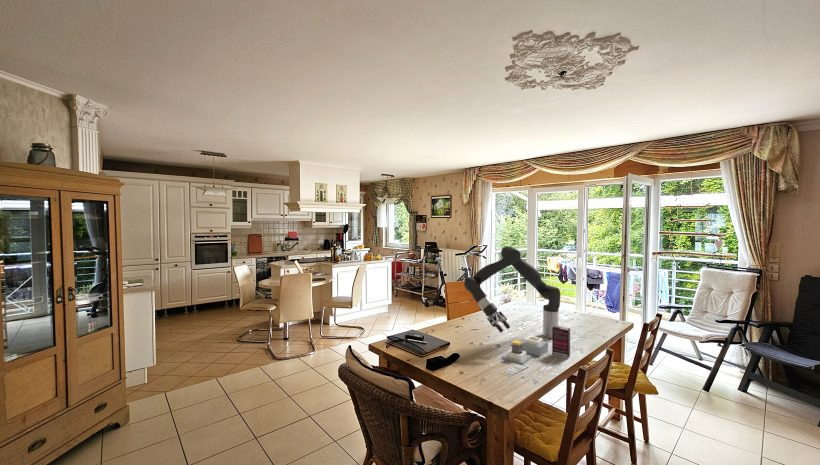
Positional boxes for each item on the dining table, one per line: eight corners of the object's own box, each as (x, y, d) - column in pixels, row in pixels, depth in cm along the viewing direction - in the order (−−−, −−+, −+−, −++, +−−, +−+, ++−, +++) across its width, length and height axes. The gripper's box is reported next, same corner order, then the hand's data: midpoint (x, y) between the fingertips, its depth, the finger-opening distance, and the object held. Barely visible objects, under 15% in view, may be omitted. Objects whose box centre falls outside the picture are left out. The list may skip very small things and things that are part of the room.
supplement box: (570, 356, 184) (570, 328, 184) (568, 359, 180) (568, 330, 180) (553, 352, 189) (554, 325, 189) (551, 355, 186) (552, 327, 185)
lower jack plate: (501, 358, 181) (501, 352, 181) (511, 352, 190) (511, 346, 190) (523, 364, 173) (523, 357, 173) (532, 357, 182) (532, 351, 182)
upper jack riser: (519, 351, 192) (519, 339, 191) (527, 345, 201) (527, 334, 200) (540, 356, 184) (540, 344, 183) (548, 350, 193) (548, 338, 192)
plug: (511, 356, 181) (512, 341, 181) (514, 354, 184) (515, 340, 184) (518, 358, 178) (519, 343, 178) (521, 356, 181) (522, 341, 181)
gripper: (485, 304, 186) (504, 329, 178) (497, 300, 196) (515, 323, 189) (477, 312, 189) (495, 336, 182) (489, 307, 200) (506, 330, 192)
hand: (505, 329), depth 185 cm, fingers open, 8 cm apart
